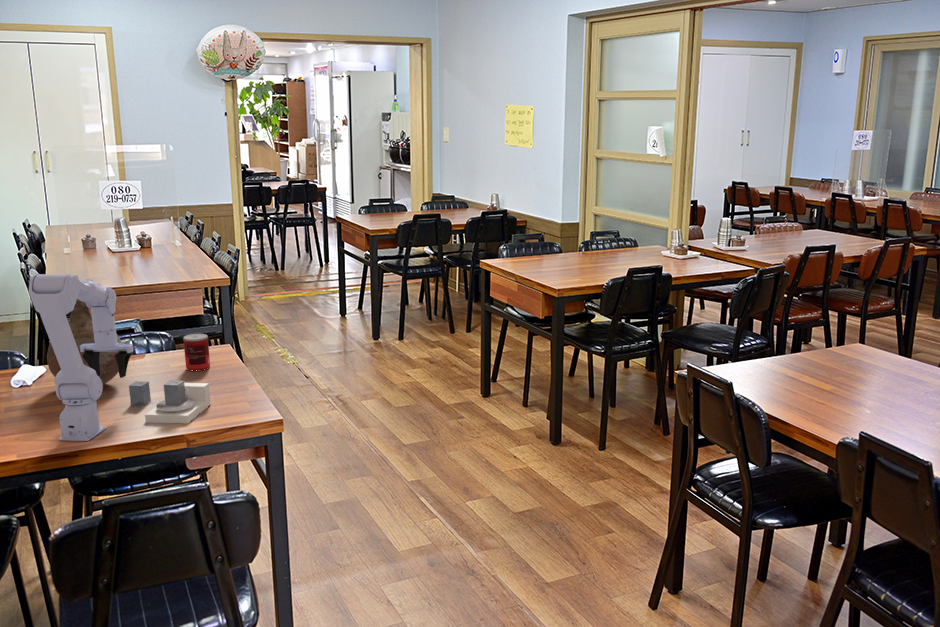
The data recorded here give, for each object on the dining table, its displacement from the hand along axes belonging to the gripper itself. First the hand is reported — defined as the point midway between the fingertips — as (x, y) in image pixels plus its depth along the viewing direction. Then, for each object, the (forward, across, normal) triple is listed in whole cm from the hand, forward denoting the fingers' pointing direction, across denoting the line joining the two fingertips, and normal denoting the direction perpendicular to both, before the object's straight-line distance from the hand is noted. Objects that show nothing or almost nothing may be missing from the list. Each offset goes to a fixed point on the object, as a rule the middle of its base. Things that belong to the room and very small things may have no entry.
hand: (110, 376), depth 223 cm
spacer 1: (+10, -5, -6) cm, 13 cm away
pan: (+7, -20, +3) cm, 21 cm away
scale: (+10, -20, +1) cm, 22 cm away
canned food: (+10, -7, -41) cm, 43 cm away
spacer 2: (+6, -20, +3) cm, 21 cm away
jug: (+10, +18, -19) cm, 28 cm away
